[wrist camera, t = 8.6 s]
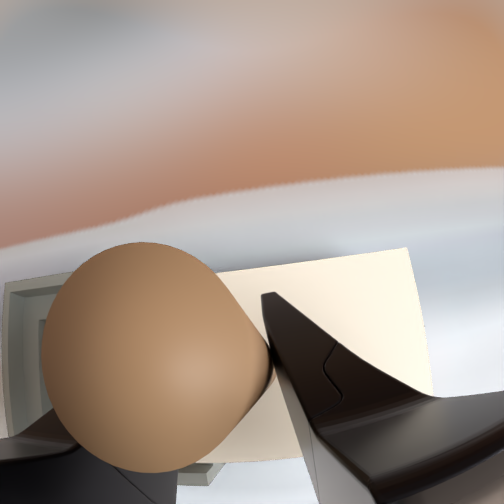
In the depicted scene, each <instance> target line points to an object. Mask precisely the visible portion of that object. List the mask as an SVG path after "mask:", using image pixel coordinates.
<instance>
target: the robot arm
mask: <svg viewBox="0 0 504 504" xmlns="http://www.w3.org/2000/svg"><path fill="white" fill-rule="evenodd" d="M261 308H262V317H263V321H264V326H265V330H266V334H267V338H268V343H269V347H270V351H271V355H272V359H273V364H274V368H275V372H276V375H277V379H278V382H279V385H280V388H281V391H282V394H283V397H284V400H285V403H286V406H287V409H288V412H289V415H290V418H291V421H292V424H293V427H294V430H295V433H296V436H297V439H298V442H299V445H300V448H301V451H302V454H303V457H304V460H305V463H306V466H307V469H308V472H309V475H310V478H311V481H312V484H313V487H314V490H315V493H316V496H317V499H318V501H319V504H504V391H499V392H492V393H484V394H477V395H468V396H458V397H447V398H441V397H434V396H430V395H427V394H424V393H422V392H420V391H418V390H416V389H414V388H412V387H410V386H409V385H407V384H405V383H403V382H401V381H399V380H398V379H396V378H394V377H392V376H390V375H389V374H387V373H385V372H383V371H381V370H380V369H378V368H376V367H375V366H373V365H371V364H370V363H368V362H366V361H365V360H363V359H362V358H360V357H359V356H357V355H356V354H355V353H353V352H352V351H350V350H349V349H348V348H346V347H345V346H344V345H343V344H341V343H339V342H338V341H337V340H336V339H335V338H333V337H332V336H331V335H330V334H328V333H327V332H326V331H324V330H323V329H322V328H321V327H319V326H318V325H317V324H316V323H314V322H313V321H312V320H310V319H309V318H308V317H307V316H305V315H304V314H303V313H302V312H300V311H299V310H298V309H297V308H295V307H294V306H293V305H291V304H290V303H289V302H288V301H286V300H285V299H284V298H283V297H281V296H280V295H279V294H278V293H276V292H268V293H264V294H261ZM177 480H178V469H176V470H173V471H169V472H160V473H140V472H135V471H129V470H125V469H122V468H119V467H116V466H113V465H111V464H109V463H107V462H105V461H103V460H101V459H99V458H98V457H96V456H95V455H93V454H92V453H90V452H89V451H88V450H86V449H85V448H84V447H83V446H82V445H80V444H79V443H78V442H77V441H76V440H75V439H74V437H73V436H72V435H71V434H70V433H69V432H68V431H67V429H66V428H65V426H64V425H63V424H62V422H61V421H60V419H59V417H58V415H57V414H56V412H55V410H54V408H52V409H51V410H49V411H48V412H47V413H45V414H44V415H43V416H41V417H40V418H39V419H37V420H36V421H35V422H34V423H32V424H31V425H30V426H28V427H27V428H26V429H24V430H23V431H22V432H20V433H18V434H16V435H14V436H12V437H9V438H4V439H0V504H176V493H177Z"/></svg>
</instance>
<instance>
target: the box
mask: <svg viewBox="0 0 504 504" xmlns="http://www.w3.org/2000/svg"><path fill="white" fill-rule="evenodd" d="M72 273H73V272H68V273H62V274H56V275H50V276H44V277H38V278H32V279H26V280H20V281H14V282H8V283H5V290H4V302H3V319H2V375H3V392H4V404H5V413H6V422H7V429H8V436H9V437H12V436H14V435H16V434H18V433H20V432H22V431H23V430H24V429H26V428H27V427H28V426H30V425H31V424H32V423H34V422H35V421H36V420H37V419H39V418H40V417H41V416H43V415H44V414H45V413H47V412H48V411H49V410H51V409H52V408H53V406H52V403H51V401H50V399H49V396H48V393H47V390H46V386H45V383H44V377H43V372H42V361H41V347H42V337H43V330H44V326H45V322H46V318H47V315H48V313H49V310H50V307H51V305H52V303H53V301H54V299H55V297H56V295H57V293H58V292H59V290H60V289H61V287H62V286H63V284H64V283H65V282H66V280H67V279H68V278H69V277H70V276H71V275H72ZM224 464H225V463H196V462H195V463H192V464H190V465H188V466H186V467H184V468H180V469H178V480H177V485H186V486H209V484H210V483H211V482H212V481H213V479H214V478H215V477H216V475H217V474H218V473H219V471H220V470H221V468H222V467H223V466H224Z"/></svg>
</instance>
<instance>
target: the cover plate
mask: <svg viewBox="0 0 504 504" xmlns="http://www.w3.org/2000/svg"><path fill="white" fill-rule="evenodd" d="M268 292H276V293H278V294H279V295H280V296H281V297H283V298H284V299H285V300H286V301H288V302H289V303H290V304H291V305H293V306H294V307H295V308H297V309H298V310H299V311H300V312H302V313H303V314H304V315H305V316H307V317H308V318H309V319H310V320H312V321H313V322H314V323H316V324H317V325H318V326H319V327H321V328H322V329H323V330H324V331H326V332H327V333H328V334H330V335H331V336H332V337H333V338H335V339H336V340H337V341H338V342H339V343H341V344H343V345H344V346H345V347H346V348H348V349H349V350H350V351H352V352H353V353H355V354H356V355H357V356H359V357H360V358H362V359H363V360H365V361H366V362H368V363H370V364H371V365H373V366H375V367H376V368H378V369H380V370H381V371H383V372H385V373H387V374H389V375H390V376H392V377H394V378H396V379H398V380H399V381H401V382H403V383H405V384H407V385H409V386H410V387H412V388H414V389H416V390H418V391H420V392H422V393H424V394H427V395H430V396H433V387H432V378H431V369H430V362H429V354H428V348H427V341H426V335H425V329H424V323H423V318H422V312H421V307H420V302H419V297H418V292H417V288H416V283H415V279H414V274H413V270H412V266H411V262H410V258H409V254H408V250H407V248H400V249H393V250H386V251H379V252H372V253H365V254H358V255H351V256H343V257H336V258H329V259H321V260H314V261H307V262H299V263H291V264H284V265H276V266H269V267H261V268H253V269H245V270H237V271H229V272H221V273H214V272H213V271H212V270H211V269H210V268H209V267H207V266H206V265H205V264H204V263H202V262H201V261H199V260H198V259H197V258H195V257H194V256H192V255H190V254H188V253H186V252H184V251H182V250H179V249H176V248H174V247H171V246H168V245H163V244H157V243H146V242H139V243H128V244H124V245H119V246H115V247H113V248H110V249H107V250H105V251H103V252H101V253H99V254H97V255H95V256H93V257H92V258H90V259H89V260H88V261H86V262H85V263H83V264H82V265H81V266H80V267H79V268H78V269H77V270H75V271H74V272H73V273H72V275H71V276H70V277H69V278H68V279H67V280H66V282H65V283H64V284H63V286H62V287H61V289H60V290H59V292H58V293H57V295H56V297H55V299H54V301H53V303H52V305H51V307H50V310H49V313H48V315H47V318H46V322H45V326H44V330H43V337H42V347H41V361H42V372H43V377H44V383H45V386H46V390H47V393H48V396H49V399H50V401H51V403H52V406H53V408H54V410H55V412H56V414H57V415H58V417H59V419H60V421H61V422H62V424H63V425H64V426H65V428H66V429H67V431H68V432H69V433H70V434H71V435H72V436H73V437H74V439H75V440H76V441H77V442H78V443H79V444H80V445H82V446H83V447H84V448H85V449H86V450H88V451H89V452H90V453H92V454H93V455H95V456H96V457H98V458H99V459H101V460H103V461H105V462H107V463H109V464H111V465H113V466H116V467H119V468H122V469H125V470H129V471H135V472H140V473H160V472H169V471H173V470H176V469H180V468H184V467H186V466H188V465H190V464H192V463H195V462H196V463H233V462H254V461H267V460H278V459H288V458H297V457H303V454H302V451H301V448H300V445H299V442H298V439H297V436H296V433H295V430H294V427H293V424H292V421H291V418H290V415H289V412H288V409H287V406H286V403H285V400H284V397H283V394H282V391H281V388H280V385H279V382H278V379H277V375H276V372H275V368H274V364H273V359H272V355H271V351H270V347H269V343H268V338H267V334H266V330H265V326H264V321H263V317H262V308H261V294H264V293H268Z"/></svg>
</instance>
